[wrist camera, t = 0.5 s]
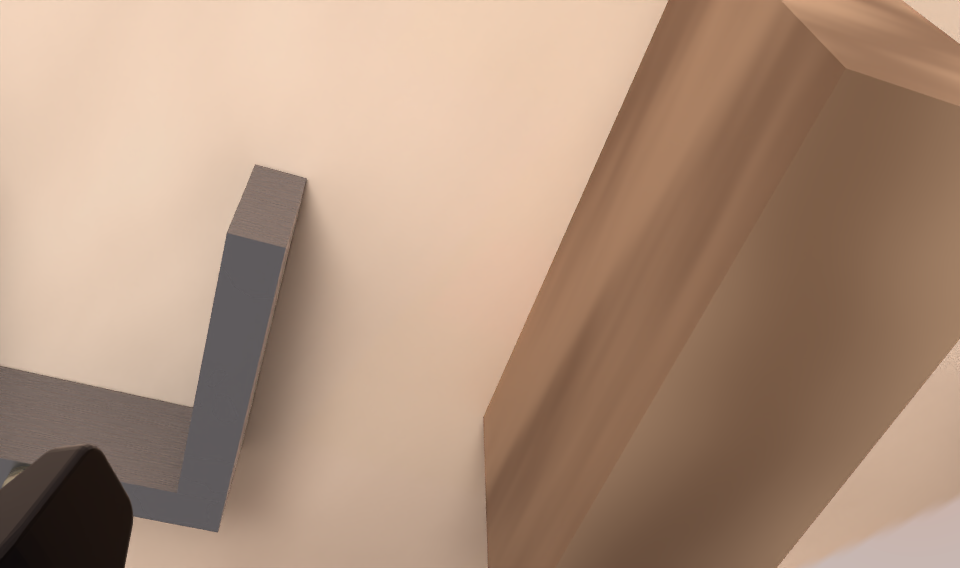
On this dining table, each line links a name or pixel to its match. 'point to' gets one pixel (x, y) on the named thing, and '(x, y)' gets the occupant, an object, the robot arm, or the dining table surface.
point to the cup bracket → (165, 426)
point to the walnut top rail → (735, 291)
